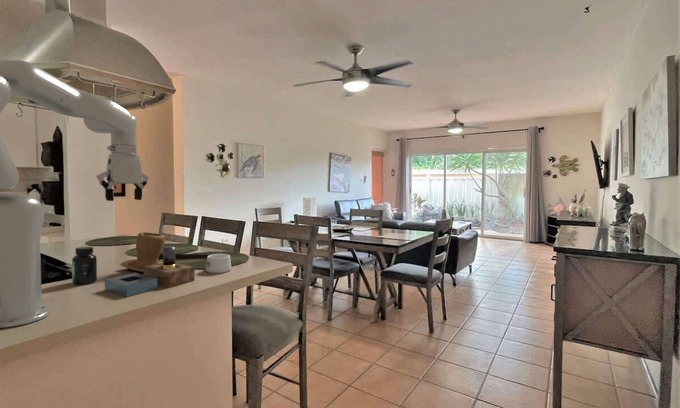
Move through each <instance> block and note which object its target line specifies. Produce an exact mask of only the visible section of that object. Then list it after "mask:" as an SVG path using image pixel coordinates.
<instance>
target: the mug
mask: <svg viewBox="0 0 680 408" xmlns="http://www.w3.org/2000/svg"><path fill="white" fill-rule="evenodd" d="M231 261H232V260H231V255H230V254H229V253H228V254H227V253H213V254H210V255H209V256H207V258H206V263H205V271H206V272H207V273H209V274H224V273H227V272H230V271H231V270H232V263H231Z"/></svg>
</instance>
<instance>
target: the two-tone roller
mask: <svg viewBox="0 0 680 408" xmlns="http://www.w3.org/2000/svg"><path fill="white" fill-rule="evenodd" d="M162 254H163V260H162V263H163V269H172V268H175V263H176V259H175V254H176V246H173V245H171V246H163V249H162Z"/></svg>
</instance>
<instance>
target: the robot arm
mask: <svg viewBox="0 0 680 408" xmlns="http://www.w3.org/2000/svg"><path fill="white" fill-rule="evenodd" d="M11 97H22V98H26V99H27V100H29V101H32V102H34V103H36V104H38V105H40V106H42V107H45V108H46V109H48V110H50V111H52V112H54V113H57V114H58V115H63V116H67V117H72V118H73V117H74V118H79V119H83V123H84V126H85V127H86V128H87V129H89V130H90V131H91V132H93V133H96V134H97V133H98V134H110V145H108V146H107V148H106V150H107V151H110V153H109V154H108V157H107V163H106V171H103V172H101V173H99V174H97V175H96V176H95V177H96V179H97V181H98V182H99V185H100V186H102V187H103V188H104V189H105V190H104V195H105V199H106V201H107V202H113V201H114V198H115V197H114V196H115V195H114V185H116V184H125V185H126V184H132V185H133V186H134V187H135V188H134V190H133V192H134V200H136V201H141V200H142V197H143V190H144V187H145V186H146V185H147V184H148V183H147V182H148V181H149V179H150V177H149V176H148V175H146V174H144V173H143V170H142V169H143V168H142V162H141V159H140V156H139V155H137V154H138V153H137V119H136V117H135V116H134V115H132V114H131V113H130V112H129V111H128V110H127V109H126V108H125V107H123V106H121V105H119V104H118V103H116V102H115V101H112V100H111V99H107V98H105V97H103V96H100V95H97V94H93V93H90V92H88V91H87V90H86V91H85V90H82V89H79V88H76V87H74V86H72V85H70V84H68V83H67V82H64V81H63V80H62V79H60V78H59V77H56V76H54V75H53V74H51V73H49V72H48V71H45V69H42V68H41V67H39V66H37V65H36V64H33V63H31V62H29V61H25V60H20V59H19V60H18V59H17V60H16V59H15V60H9V59H8V60H0V115H1V114H2V113H3V111H4V110H5V108H6V106H7V105H8V104H9V102H10V100H11ZM105 178H106V181H105ZM19 180H20V175H19V171H18V168H17V166H16V164H15V162H14V160H13V158H12V156H11V154H10V152H9V150H8V148H7V146H6V144H5V141H4V139H3V137H2V135H1V133H0V328H1V329H2V328H11V327H17V326H18V327H19V326H22V325H27V324H30V323H34V322H36V321H40V320H42V319H44V318H46V317H47V316H48V315H49V314H50V312H51V311H50V307H48V306H46V305H43V304H42V299H43V298H42V267H41V266H42V263H41V262H42V261H41V260H42V259H41V238H42V237H41V236H42V231H43V230H42V228H43V225H44V221H45V215H46V213H45V208H44V206H43V203H41V201H39V200H38V199H37V198H35V197H33V196H31V195H28V194H23V193H13V192H12V193H8V192H7V191H10V190H11V189H13V188H15V187H16V186H17V185H18V183H19Z"/></svg>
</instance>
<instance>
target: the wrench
mask: <svg viewBox="0 0 680 408" xmlns="http://www.w3.org/2000/svg"><path fill="white" fill-rule="evenodd" d="M209 255H211V254H201V253H200V254H199V253H198V254H197V253H175V260H187V259H189V260H190V258H195V259H201V258H200V257H207V256H209ZM158 261H163V253H160V256H159V258H158Z"/></svg>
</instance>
